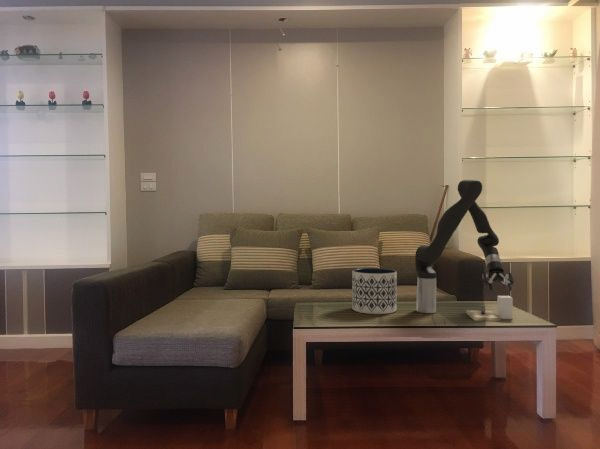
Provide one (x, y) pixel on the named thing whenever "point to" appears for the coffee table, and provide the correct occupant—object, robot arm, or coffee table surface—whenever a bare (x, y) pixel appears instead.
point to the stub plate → (483, 315)
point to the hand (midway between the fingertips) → (500, 291)
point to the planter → (374, 290)
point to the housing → (504, 307)
